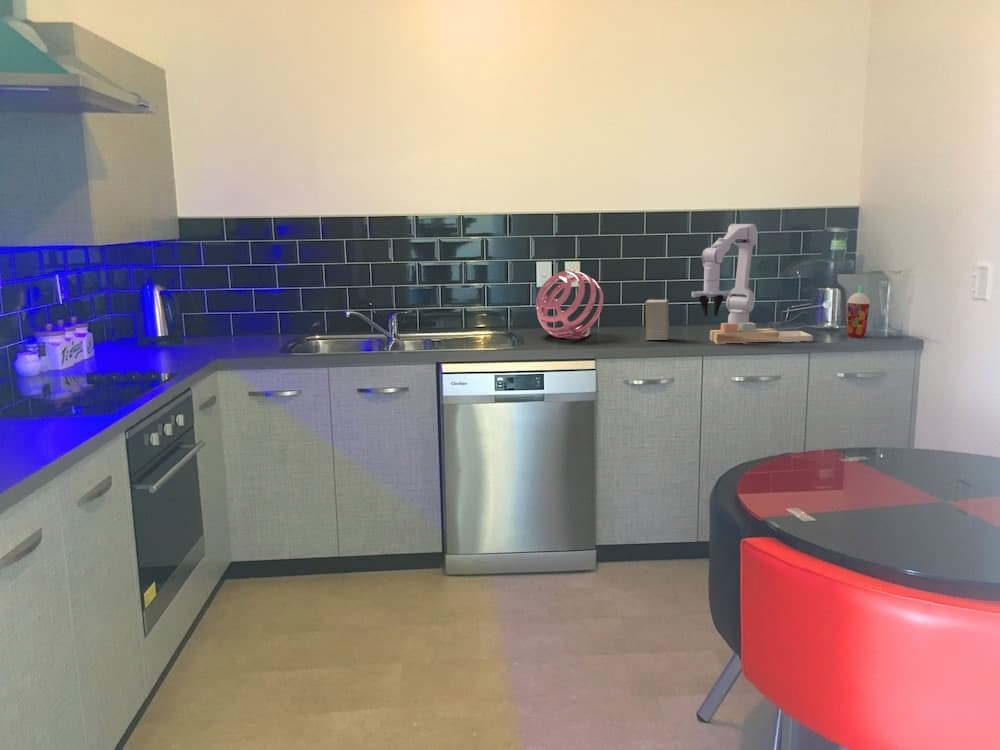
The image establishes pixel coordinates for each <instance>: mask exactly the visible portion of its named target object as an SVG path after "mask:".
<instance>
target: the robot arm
mask: <svg viewBox="0 0 1000 750" xmlns="http://www.w3.org/2000/svg"><path fill="white" fill-rule="evenodd" d="M757 238H758V229H757V226H756V225H755V223H731V224H730V225H729V226H728V228H727V233H726V234H725V235H724V236H723V237H718V238H717V240H716V241H715V242H714V243H712V245H711V246H710V247H706V248H705V249H703V251H702V254H701V261H702V267H703V268H704V270H703V290H697V291H691V298H698V300H699V302H700V304H701V307H702V313H703V316H705V317H707V316H708V305H709V300H710V299H709V298H708V297H711V298H712V297H713V316H714V317H716V316H718V313H719V310H720V307H721V305H722V303H723V302H724V299H725V298H724V297H727V298H726V300H725V301H726V302H725V305H726V308H727V310H728V312H729V314H728V316H727V323H736V324H738V329H739V323H740V322H750V313H752V311H753V310H754V307H755V293H754V292H753V291H752V290H751V289H750V288H749V281H750V272H751V263H752V254H753V247H754V246H756V245H757ZM731 244H734V245H735V246H737V247H738V257H737V266H736V275H735V284H734V287H733V288H732V289H731V290H720V276H721V274H720V272H721V263H723V261H724V257H725V254H726V253H728V252H729V250H730V249H731Z"/></svg>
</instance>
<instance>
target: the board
mask: <svg viewBox="0 0 1000 750" xmlns="http://www.w3.org/2000/svg"><path fill="white" fill-rule="evenodd" d="M780 332H781V331H777V330H775V329H773V328H756V332H741V331H739V330H738V332H734V333H724V332H722V331H721V329H709V341H710V340H711V342H712V341H713V342H712V343H714V342H715V343H714V344H716V345H727V344H726V343H743V344H748V343H747V342H768V341H779V333H780Z"/></svg>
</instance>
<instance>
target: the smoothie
mask: <svg viewBox="0 0 1000 750" xmlns="http://www.w3.org/2000/svg"><path fill="white" fill-rule="evenodd" d="M846 303H847V304H846V311H847V312H846V334H847V335H848V337H849V338H857V339H858V338H859V339H860V338H864V337H865V335H866V333H867V326H868V320H869V312H870V307H871V306H870V304H871V301H870V299H869V297H868V296H867V294H865V293H862V292H861V285H858V291H857V292H855V293H853V294H852V295H851V296H849V298H848V300H847V301H846Z"/></svg>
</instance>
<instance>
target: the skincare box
mask: <svg viewBox="0 0 1000 750" xmlns="http://www.w3.org/2000/svg"><path fill="white" fill-rule="evenodd" d="M644 303H645V341H646V340H667V341H668V339H669V337H670V336H669V335H670V333H669V330H670V327H669V299H647V300H646V301H645V302H644Z"/></svg>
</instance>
